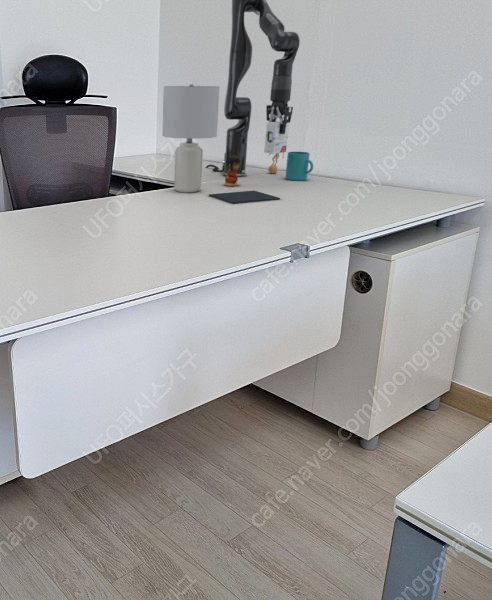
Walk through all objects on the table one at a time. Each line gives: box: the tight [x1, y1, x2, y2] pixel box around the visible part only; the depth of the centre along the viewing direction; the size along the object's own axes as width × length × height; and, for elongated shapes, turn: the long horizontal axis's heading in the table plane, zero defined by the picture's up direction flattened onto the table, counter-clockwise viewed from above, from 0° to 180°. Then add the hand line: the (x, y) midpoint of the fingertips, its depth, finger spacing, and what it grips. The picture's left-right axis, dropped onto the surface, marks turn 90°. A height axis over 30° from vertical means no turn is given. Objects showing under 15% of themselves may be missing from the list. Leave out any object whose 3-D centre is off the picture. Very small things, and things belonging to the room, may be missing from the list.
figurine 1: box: [224, 155, 241, 187], centre depth 239 cm, size 6×6×12 cm
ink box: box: [263, 120, 290, 155], centre depth 235 cm, size 9×5×12 cm, turn 129°
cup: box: [284, 151, 314, 182], centre depth 253 cm, size 9×12×11 cm
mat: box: [208, 190, 281, 205], centre depth 217 cm, size 16×20×1 cm
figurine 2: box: [267, 152, 285, 175], centre depth 270 cm, size 8×6×12 cm
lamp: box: [162, 83, 220, 193], centre depth 223 cm, size 20×20×39 cm
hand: (277, 133), depth 235 cm, fingers closed on ink box, 5 cm apart
